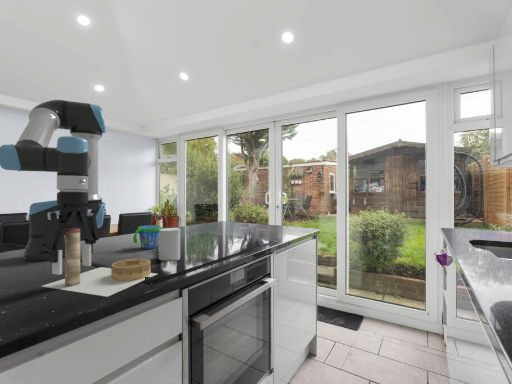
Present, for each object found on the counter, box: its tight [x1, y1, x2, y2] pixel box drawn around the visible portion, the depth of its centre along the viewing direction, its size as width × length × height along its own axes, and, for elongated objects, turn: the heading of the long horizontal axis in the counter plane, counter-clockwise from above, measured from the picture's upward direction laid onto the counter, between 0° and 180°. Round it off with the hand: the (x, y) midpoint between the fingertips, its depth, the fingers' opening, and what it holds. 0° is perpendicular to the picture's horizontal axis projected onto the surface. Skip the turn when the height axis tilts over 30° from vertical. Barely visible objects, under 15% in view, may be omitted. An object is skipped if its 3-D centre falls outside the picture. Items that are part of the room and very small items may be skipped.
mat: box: [41, 266, 158, 298], centre depth 82 cm, size 24×20×1 cm
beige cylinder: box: [64, 228, 81, 286], centre depth 78 cm, size 4×4×16 cm
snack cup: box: [132, 224, 164, 250], centre depth 130 cm, size 16×10×10 cm
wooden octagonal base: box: [110, 258, 152, 281], centre depth 86 cm, size 11×11×4 cm
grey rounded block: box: [158, 227, 181, 262], centre depth 109 cm, size 8×8×12 cm
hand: (72, 269), depth 78 cm, fingers open, 8 cm apart
